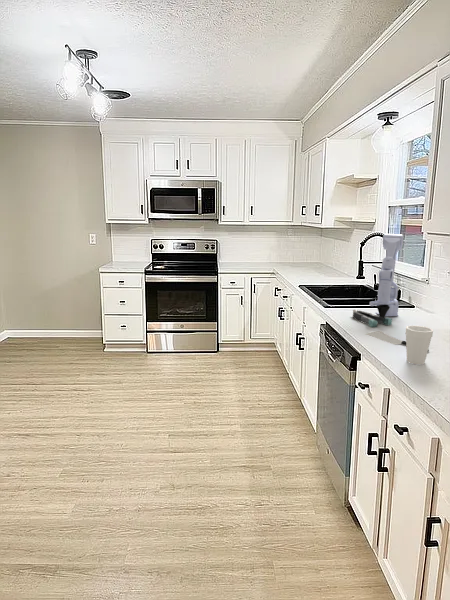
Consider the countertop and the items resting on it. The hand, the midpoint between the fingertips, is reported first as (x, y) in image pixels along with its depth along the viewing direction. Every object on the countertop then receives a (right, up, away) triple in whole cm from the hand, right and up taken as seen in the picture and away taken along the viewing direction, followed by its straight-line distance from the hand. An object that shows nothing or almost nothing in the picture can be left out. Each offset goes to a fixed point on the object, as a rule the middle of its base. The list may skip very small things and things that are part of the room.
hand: (381, 319), depth 236 cm
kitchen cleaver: (-6, -9, -35) cm, 37 cm away
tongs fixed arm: (-9, -2, -1) cm, 9 cm away
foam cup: (-8, -14, -61) cm, 62 cm away
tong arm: (-5, -1, +3) cm, 5 cm away
